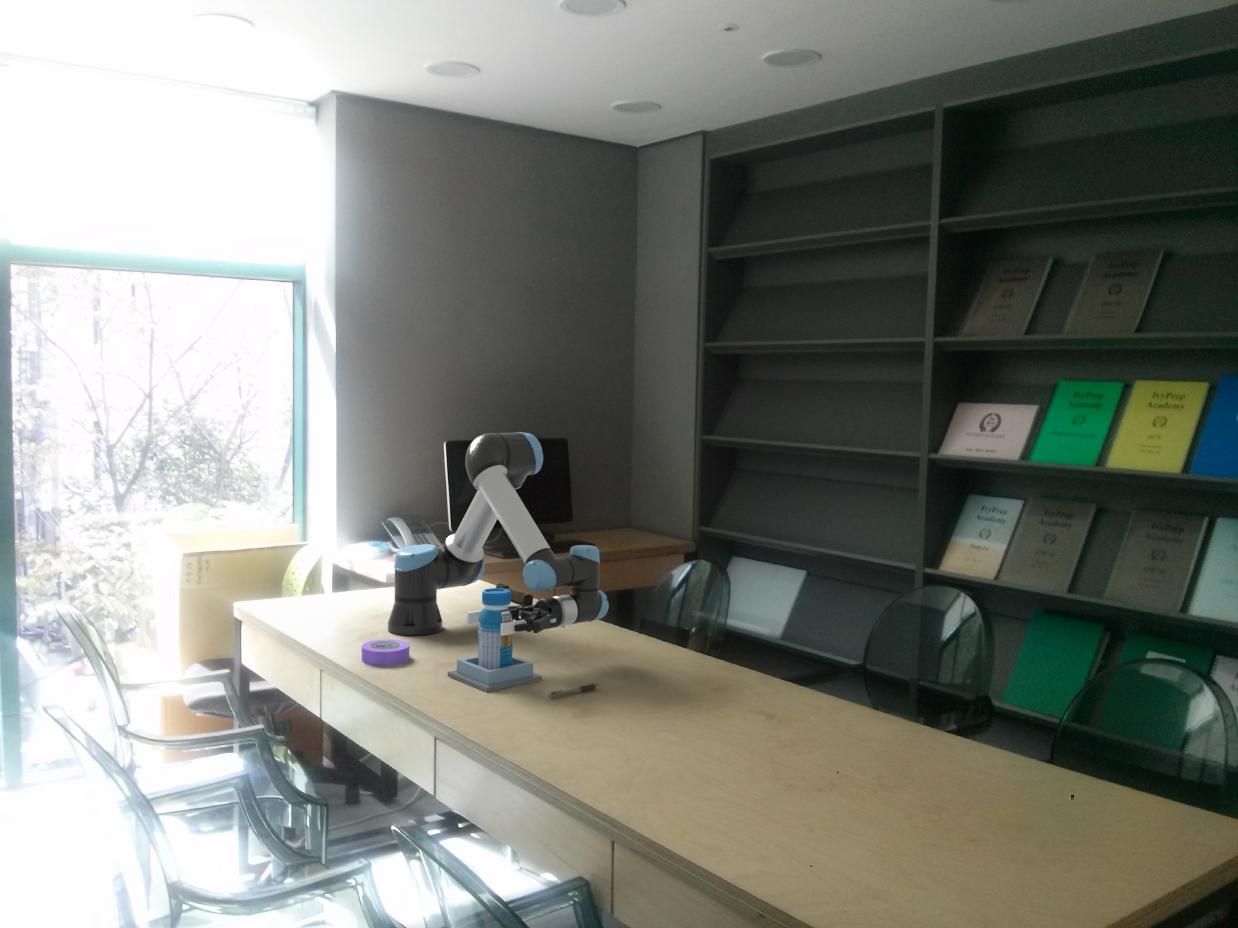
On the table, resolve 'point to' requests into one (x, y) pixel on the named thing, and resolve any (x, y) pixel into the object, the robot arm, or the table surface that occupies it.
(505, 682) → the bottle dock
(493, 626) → the beverage bottle
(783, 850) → the table surface
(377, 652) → the masking tape
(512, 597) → the hand tool
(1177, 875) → the table surface
